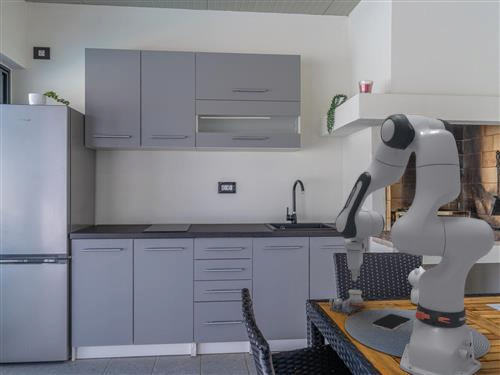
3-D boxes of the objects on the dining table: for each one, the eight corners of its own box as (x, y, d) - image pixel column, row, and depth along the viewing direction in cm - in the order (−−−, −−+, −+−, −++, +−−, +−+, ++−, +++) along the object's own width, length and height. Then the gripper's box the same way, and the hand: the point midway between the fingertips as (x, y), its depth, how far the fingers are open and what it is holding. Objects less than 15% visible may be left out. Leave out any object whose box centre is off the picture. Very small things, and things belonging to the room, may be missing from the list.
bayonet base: (351, 315, 135) (351, 304, 135) (326, 309, 142) (326, 299, 142) (367, 306, 145) (367, 296, 145) (343, 301, 152) (343, 291, 152)
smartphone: (412, 318, 129) (392, 329, 119) (412, 322, 129) (392, 333, 119) (390, 313, 135) (370, 322, 125) (390, 316, 135) (370, 326, 125)
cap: (350, 305, 142) (350, 293, 142) (345, 301, 147) (345, 290, 147) (365, 304, 143) (365, 292, 143) (360, 300, 148) (359, 289, 148)
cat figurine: (412, 299, 154) (411, 264, 154) (445, 305, 146) (444, 267, 146) (405, 304, 147) (404, 267, 148) (438, 311, 139) (437, 271, 139)
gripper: (350, 240, 156) (351, 272, 155) (344, 245, 137) (344, 282, 136) (366, 240, 153) (366, 273, 153) (361, 246, 134) (361, 283, 134)
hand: (356, 277), depth 144 cm, fingers open, 8 cm apart
